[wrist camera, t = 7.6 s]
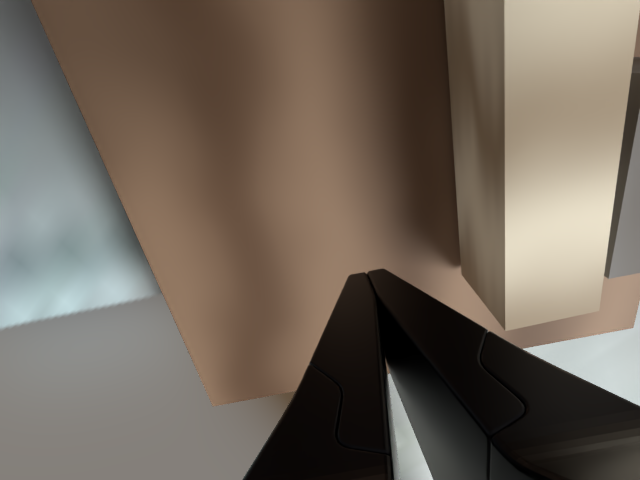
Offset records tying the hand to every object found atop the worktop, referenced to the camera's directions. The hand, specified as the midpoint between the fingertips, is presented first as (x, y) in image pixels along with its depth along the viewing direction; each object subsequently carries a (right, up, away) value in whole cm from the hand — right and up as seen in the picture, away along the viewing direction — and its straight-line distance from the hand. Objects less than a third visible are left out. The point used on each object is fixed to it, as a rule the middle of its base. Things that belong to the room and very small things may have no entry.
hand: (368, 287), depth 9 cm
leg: (+5, +6, +3) cm, 8 cm away
